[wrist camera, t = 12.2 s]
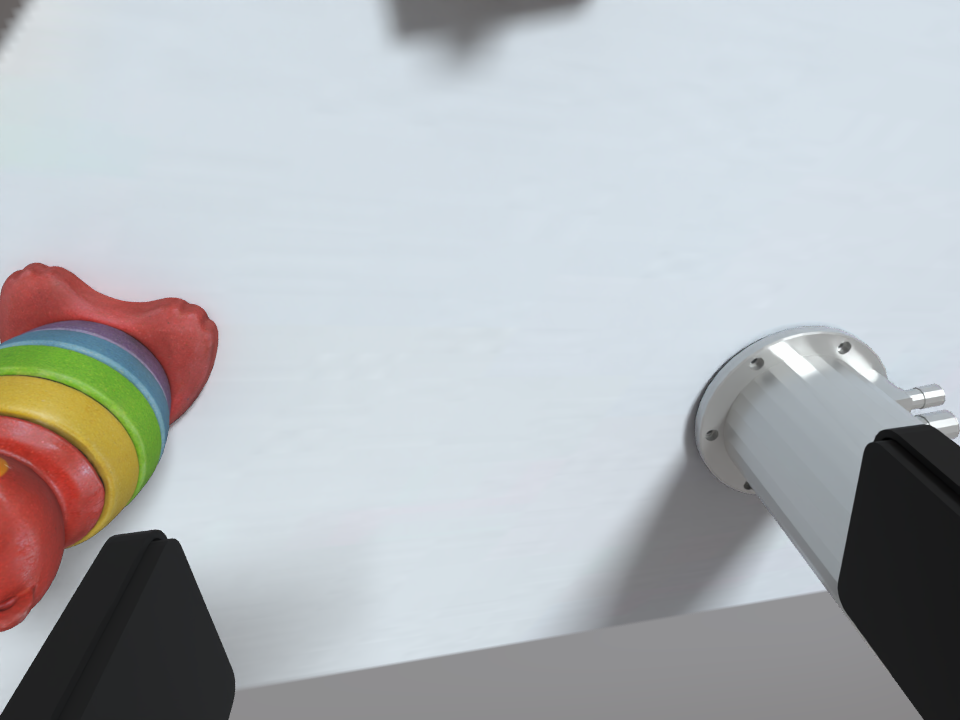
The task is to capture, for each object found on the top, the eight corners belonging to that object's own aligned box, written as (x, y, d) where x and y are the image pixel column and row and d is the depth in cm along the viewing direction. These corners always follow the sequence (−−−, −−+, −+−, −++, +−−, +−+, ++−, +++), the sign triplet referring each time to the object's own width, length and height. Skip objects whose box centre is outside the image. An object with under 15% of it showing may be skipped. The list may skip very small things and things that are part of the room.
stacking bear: (226, 308, 37) (94, 531, 21) (197, 452, 41) (68, 728, 25) (10, 251, 34) (-328, 456, 18) (2, 411, 38) (-279, 691, 22)
